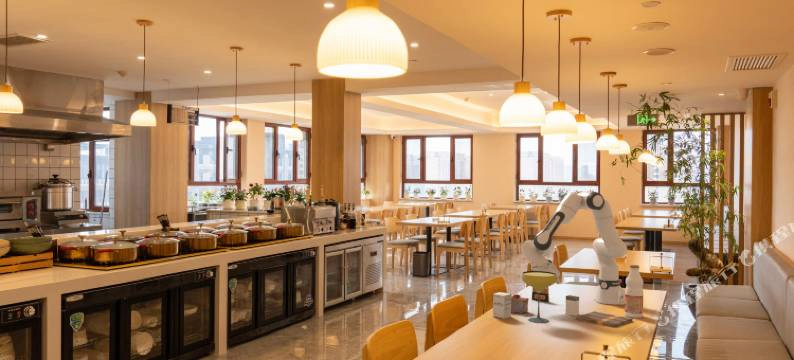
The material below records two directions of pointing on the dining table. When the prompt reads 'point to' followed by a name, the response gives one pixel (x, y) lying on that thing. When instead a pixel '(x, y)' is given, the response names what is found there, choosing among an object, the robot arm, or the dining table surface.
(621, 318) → the board
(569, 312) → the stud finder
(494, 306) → the supplement box
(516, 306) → the food item
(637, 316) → the fruit juice
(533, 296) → the thin brown box
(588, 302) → the dining table surface
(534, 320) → the cocktail glass
